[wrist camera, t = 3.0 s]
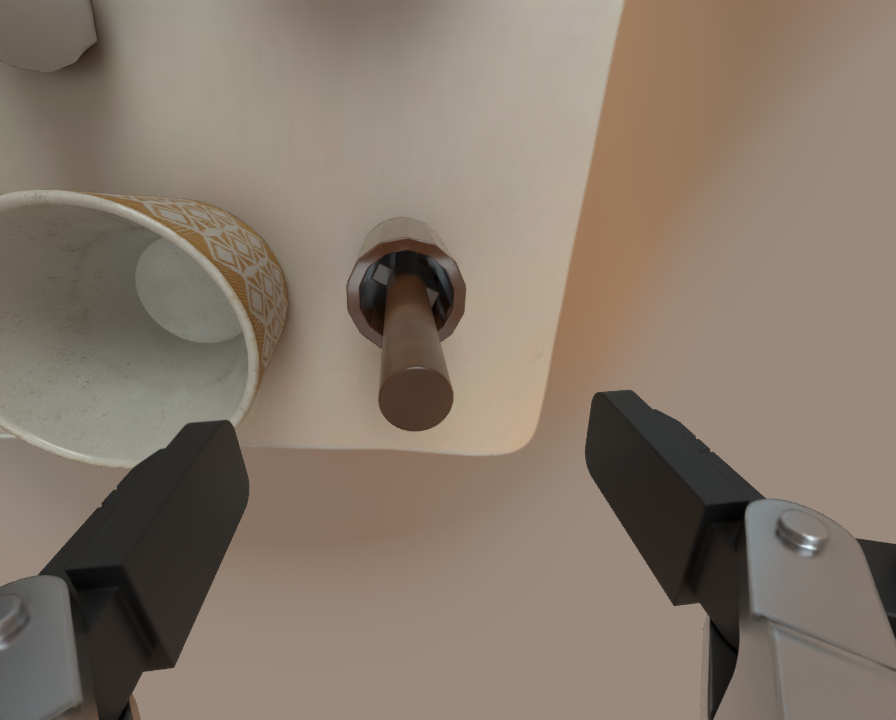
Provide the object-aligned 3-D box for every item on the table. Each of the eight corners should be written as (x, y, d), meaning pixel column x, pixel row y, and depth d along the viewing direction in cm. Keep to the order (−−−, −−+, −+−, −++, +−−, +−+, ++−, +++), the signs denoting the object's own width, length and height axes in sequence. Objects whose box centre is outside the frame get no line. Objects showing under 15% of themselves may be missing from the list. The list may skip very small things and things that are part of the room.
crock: (347, 280, 28) (327, 325, 20) (383, 199, 26) (378, 213, 18) (421, 315, 29) (431, 371, 21) (460, 242, 28) (487, 272, 20)
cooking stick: (372, 264, 27) (337, 406, 11) (385, 236, 26) (369, 342, 10) (421, 288, 28) (457, 451, 12) (435, 262, 27) (492, 396, 11)
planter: (107, 363, 28) (-37, 459, 19) (77, 161, 23) (-139, 155, 14) (299, 384, 31) (257, 479, 21) (309, 204, 26) (259, 224, 16)
